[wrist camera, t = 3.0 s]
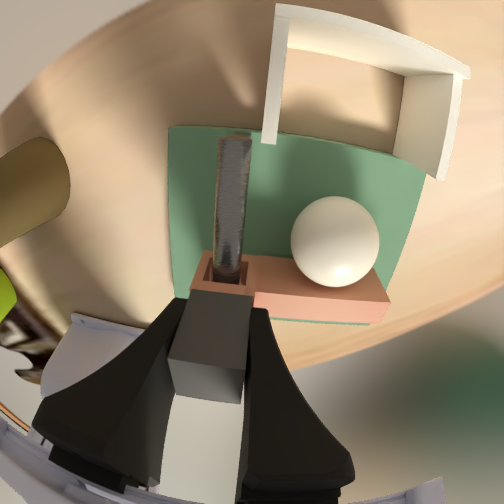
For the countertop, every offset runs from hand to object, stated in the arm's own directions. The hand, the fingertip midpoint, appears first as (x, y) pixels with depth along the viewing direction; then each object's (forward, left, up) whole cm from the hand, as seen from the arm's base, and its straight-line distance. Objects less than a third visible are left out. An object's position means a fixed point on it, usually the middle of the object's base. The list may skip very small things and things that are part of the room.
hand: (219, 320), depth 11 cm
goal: (+5, +9, -6) cm, 12 cm away
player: (+3, 0, -4) cm, 5 cm away
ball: (+5, +3, -3) cm, 6 cm away
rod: (0, +1, -5) cm, 5 cm away
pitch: (+3, +1, -6) cm, 7 cm away
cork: (-14, +4, -6) cm, 16 cm away
